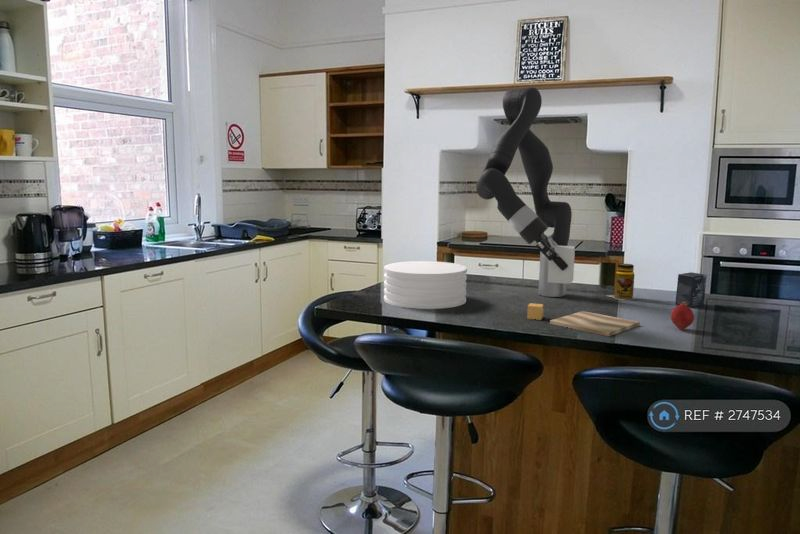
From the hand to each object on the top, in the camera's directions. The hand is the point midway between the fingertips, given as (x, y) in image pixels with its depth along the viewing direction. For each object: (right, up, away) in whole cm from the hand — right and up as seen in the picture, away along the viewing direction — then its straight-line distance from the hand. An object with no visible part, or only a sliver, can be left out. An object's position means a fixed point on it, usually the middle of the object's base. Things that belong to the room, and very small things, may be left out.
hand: (567, 266), depth 168 cm
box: (+48, -13, +25) cm, 56 cm away
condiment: (+30, -11, +37) cm, 49 cm away
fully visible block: (-8, -15, +6) cm, 18 cm away
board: (+7, -17, -1) cm, 18 cm away
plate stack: (-40, -12, +31) cm, 52 cm away
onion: (+30, -18, -6) cm, 35 cm away
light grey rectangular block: (-2, -4, +1) cm, 5 cm away
